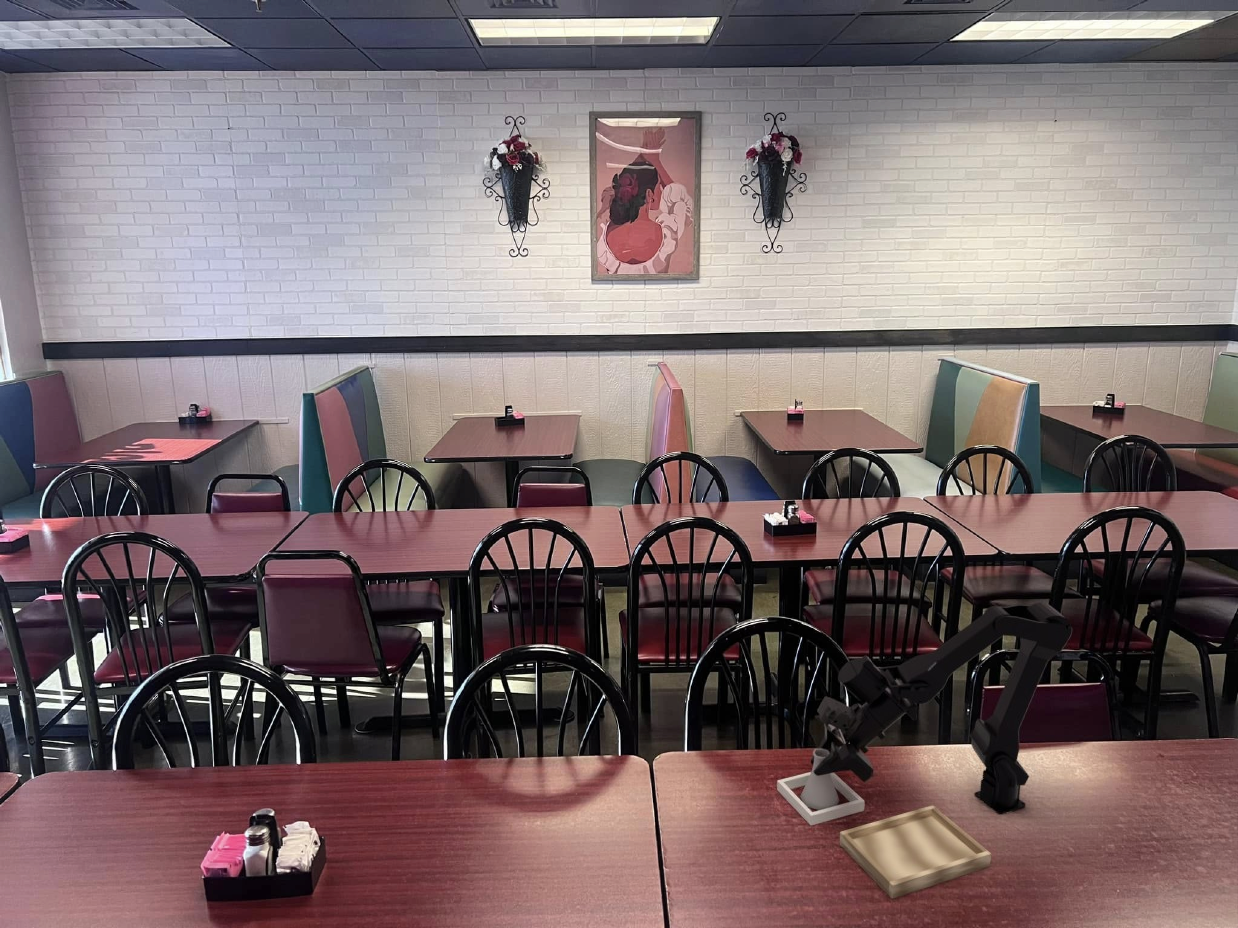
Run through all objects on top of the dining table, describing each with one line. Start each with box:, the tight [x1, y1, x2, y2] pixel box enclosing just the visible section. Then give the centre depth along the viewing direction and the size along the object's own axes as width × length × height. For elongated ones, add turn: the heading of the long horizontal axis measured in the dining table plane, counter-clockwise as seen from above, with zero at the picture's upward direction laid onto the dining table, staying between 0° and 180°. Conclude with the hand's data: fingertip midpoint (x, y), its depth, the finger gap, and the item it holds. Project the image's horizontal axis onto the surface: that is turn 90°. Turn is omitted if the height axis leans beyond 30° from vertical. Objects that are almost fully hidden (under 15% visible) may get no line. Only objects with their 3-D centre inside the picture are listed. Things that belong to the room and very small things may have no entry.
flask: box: [799, 748, 840, 811], centre depth 156 cm, size 7×7×10 cm
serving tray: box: [839, 804, 992, 900], centre depth 141 cm, size 20×14×2 cm
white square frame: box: [776, 771, 866, 826], centre depth 156 cm, size 12×12×2 cm
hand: (813, 768), depth 155 cm, fingers closed on flask, 3 cm apart
